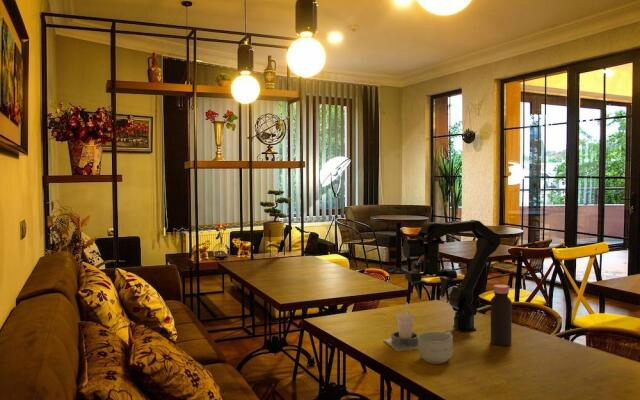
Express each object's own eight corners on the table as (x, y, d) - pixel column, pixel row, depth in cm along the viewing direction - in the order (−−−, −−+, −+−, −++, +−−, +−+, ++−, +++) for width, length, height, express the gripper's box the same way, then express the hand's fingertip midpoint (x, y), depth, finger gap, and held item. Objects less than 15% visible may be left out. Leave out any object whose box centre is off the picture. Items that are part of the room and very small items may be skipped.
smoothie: (413, 345, 168) (413, 305, 168) (394, 344, 170) (394, 303, 169) (415, 339, 175) (415, 300, 174) (397, 338, 176) (397, 299, 176)
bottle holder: (412, 338, 179) (412, 329, 179) (427, 347, 169) (427, 338, 168) (384, 341, 176) (384, 332, 176) (397, 351, 165) (397, 341, 165)
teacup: (432, 369, 150) (432, 343, 149) (410, 358, 159) (410, 333, 159) (467, 361, 156) (467, 335, 156) (443, 350, 166) (443, 326, 166)
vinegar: (514, 342, 173) (514, 285, 172) (506, 347, 168) (506, 289, 167) (495, 338, 177) (495, 283, 176) (487, 343, 172) (487, 286, 171)
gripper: (442, 251, 194) (442, 291, 195) (398, 254, 189) (398, 295, 190) (457, 256, 183) (457, 297, 184) (411, 258, 178) (412, 302, 179)
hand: (431, 298), depth 184 cm, fingers open, 9 cm apart
